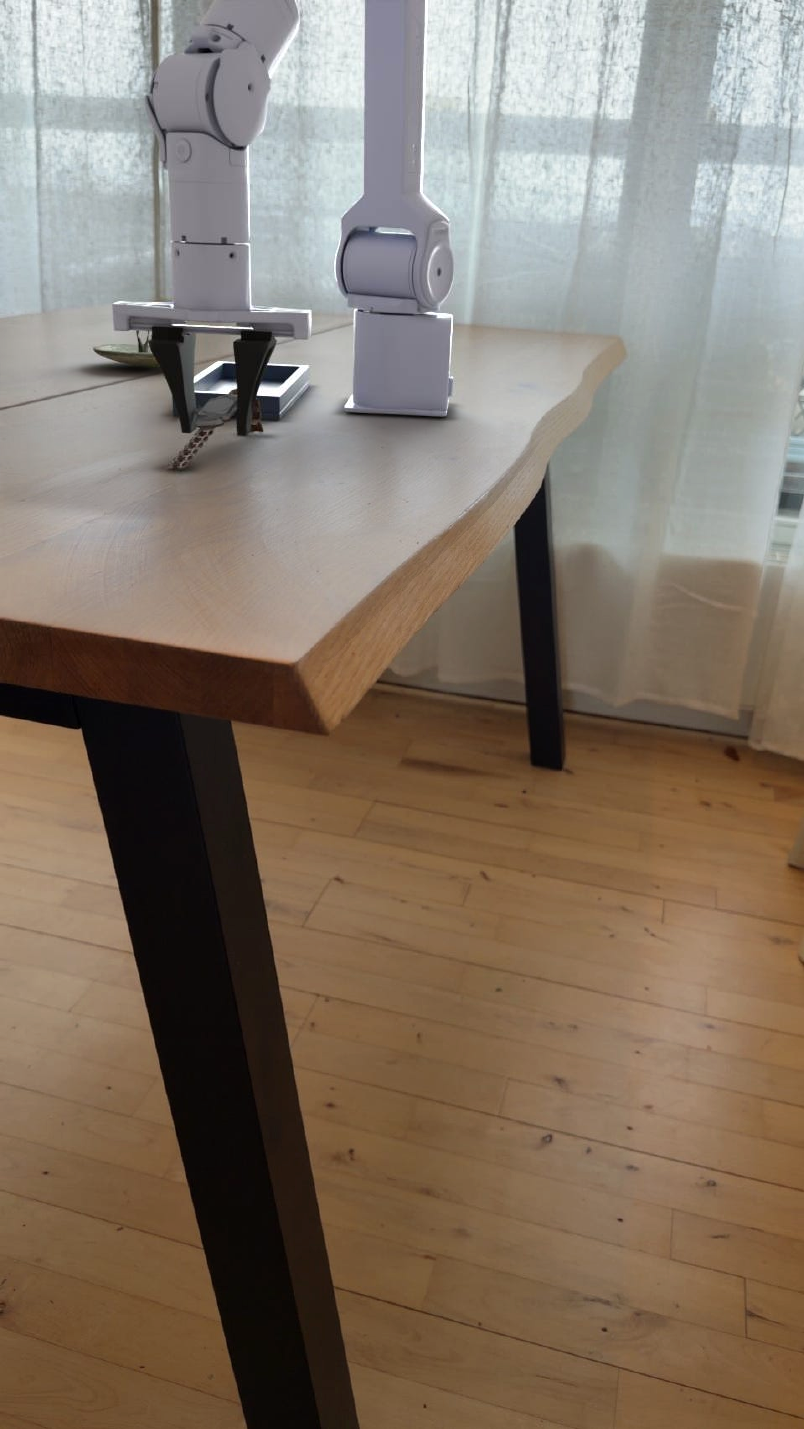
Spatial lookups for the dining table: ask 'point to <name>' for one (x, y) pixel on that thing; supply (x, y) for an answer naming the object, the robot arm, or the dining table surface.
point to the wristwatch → (214, 424)
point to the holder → (274, 391)
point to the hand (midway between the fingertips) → (216, 432)
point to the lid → (129, 353)
